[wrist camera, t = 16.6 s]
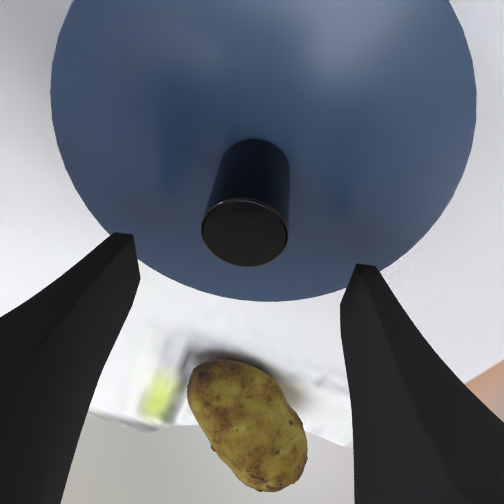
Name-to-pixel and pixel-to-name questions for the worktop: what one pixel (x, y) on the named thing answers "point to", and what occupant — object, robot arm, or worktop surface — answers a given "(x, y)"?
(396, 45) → the lid
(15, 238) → the worktop surface
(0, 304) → the worktop surface
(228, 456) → the potato
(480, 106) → the worktop surface
